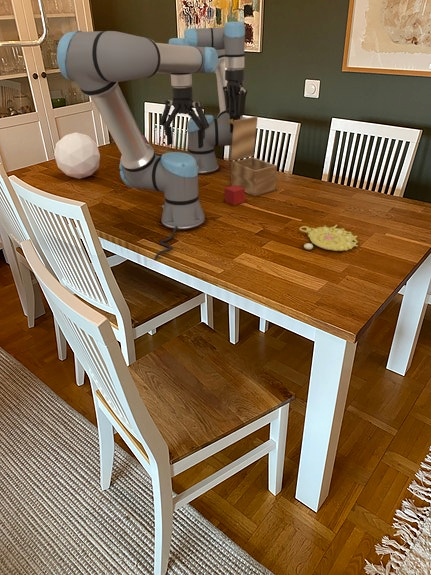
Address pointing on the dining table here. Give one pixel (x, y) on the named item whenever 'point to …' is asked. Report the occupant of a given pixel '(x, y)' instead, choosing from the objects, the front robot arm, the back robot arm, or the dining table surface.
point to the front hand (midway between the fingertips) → (185, 145)
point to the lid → (243, 137)
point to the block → (235, 194)
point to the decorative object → (330, 238)
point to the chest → (254, 175)
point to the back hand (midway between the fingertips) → (234, 132)
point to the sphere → (77, 155)
